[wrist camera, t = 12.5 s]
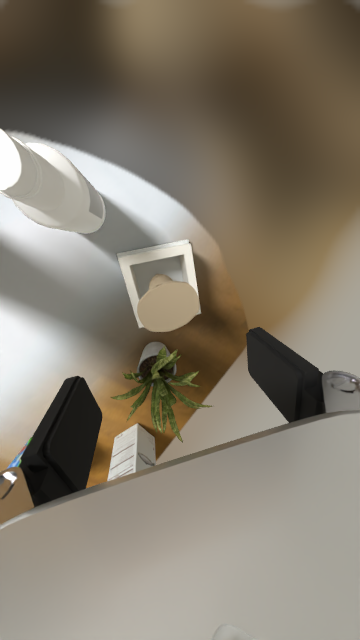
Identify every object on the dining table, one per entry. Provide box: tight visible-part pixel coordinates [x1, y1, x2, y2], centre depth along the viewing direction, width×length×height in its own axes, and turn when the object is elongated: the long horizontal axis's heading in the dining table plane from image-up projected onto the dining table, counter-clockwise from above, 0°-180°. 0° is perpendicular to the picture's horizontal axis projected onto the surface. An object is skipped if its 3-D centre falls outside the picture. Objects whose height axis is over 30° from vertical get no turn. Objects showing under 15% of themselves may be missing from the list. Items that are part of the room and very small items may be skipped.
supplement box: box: [108, 423, 156, 481], centre depth 41 cm, size 7×7×13 cm
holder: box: [116, 239, 201, 328], centre depth 31 cm, size 12×12×6 cm
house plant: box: [111, 342, 212, 442], centre depth 32 cm, size 14×14×16 cm
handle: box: [137, 274, 200, 332], centre depth 26 cm, size 5×6×15 cm
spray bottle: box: [0, 129, 106, 234], centre depth 19 cm, size 7×7×18 cm
